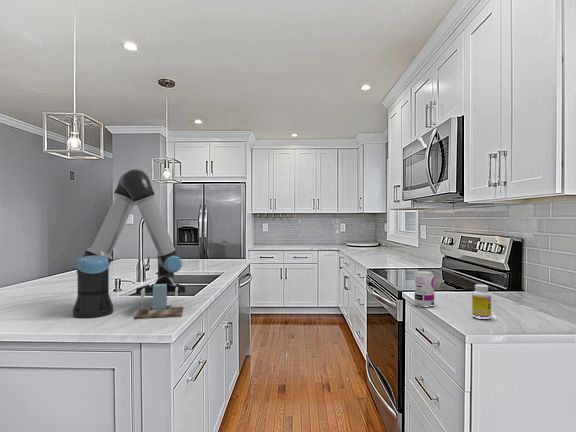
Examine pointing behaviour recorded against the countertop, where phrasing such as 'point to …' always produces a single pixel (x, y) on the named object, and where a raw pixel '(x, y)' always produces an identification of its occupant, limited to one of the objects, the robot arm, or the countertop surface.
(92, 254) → the robot arm
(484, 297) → the supplement bottle
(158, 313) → the board
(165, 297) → the blue-grey tall block
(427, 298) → the supplement can
